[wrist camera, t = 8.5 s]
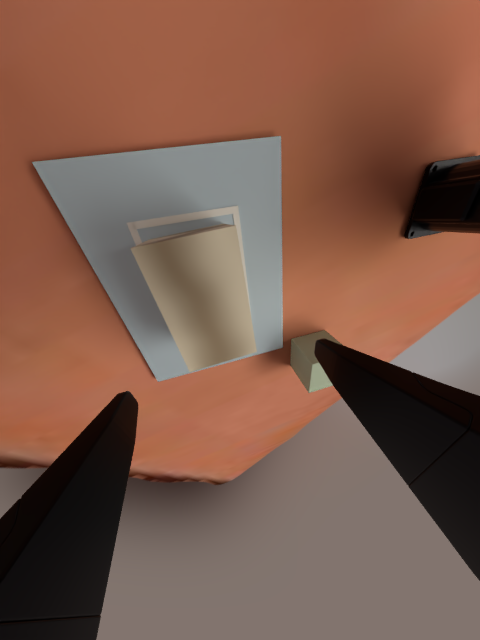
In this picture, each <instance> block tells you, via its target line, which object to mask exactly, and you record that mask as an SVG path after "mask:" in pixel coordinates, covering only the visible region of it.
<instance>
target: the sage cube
mask: <svg viewBox="0 0 480 640" xmlns="http://www.w3.org/2000/svg"><path fill="white" fill-rule="evenodd" d="M323 338H325V339H328V340H330V341H333V342H336V343H338V344H341V343H340V342H338V341H337V340H336V339H335V338H334V337H332V336H331V335H330V334H329V333H328V332H327V331H325V330H323V331H319V332H315V333H312V334H308V335H304V336H300V337H296V338H293V339H291V363H290V365H291V367H292V368H293V370H294V371H295V373H296V374H297V376H298V377H299V379H300V380H301V382H302V383H303V385H304V386H305V388H306V389H307V391H308V392H309V393H310V392H314V391H317V390H320V389H323V388H326V387H330V386H333V384H332V383H331V382H330V380H329V378H328V377H327V375H326V373H325V372H324V370H323V368H322V367H321V365H320V363H319V362H318V360H317V358H316V357H315V354H314V350H315V342H316V340H319V339H323ZM341 345H342V344H341Z"/></svg>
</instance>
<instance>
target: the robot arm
mask: <svg viewBox="0 0 480 640" xmlns="http://www.w3.org/2000/svg"><path fill="white" fill-rule="evenodd" d="M441 232H461V233H480V155H479V156H472V157H465V158H458V159H451V160H444V161H437V162H433V163H430V164H429V165H428V166H427V168H426V170H425V173H424V176H423V180H422V183H421V186H420V189H419V192H418V195H417V198H416V201H415V204H414V207H413V210H412V213H411V216H410V220H409V223H408V226H407V229H406V232H405V235H404V237H405V238H407V239H412V238H417V237H421V236H426V235H431V234H436V233H441ZM314 354H315V357H316V358H317V360H318V362H319V363H320V365H321V367H322V368H323V370H324V372H325V373H326V375H327V377H328V378H329V380H330V382H331V383H332V384H333V386H334V387H335V389H336V390H337V391H338V393H339V394H340V395H341V397H342V398H343V399H344V401H345V402H346V403H347V405H348V406H349V407H350V409H351V410H352V411H353V413H354V414H355V415H356V417H357V418H358V419H359V421H360V422H361V423H362V425H363V426H364V427H365V429H366V430H367V431H368V433H369V434H370V435H371V437H372V438H373V439H374V441H375V442H376V443H377V445H378V446H379V447H380V449H381V450H382V451H383V453H384V454H385V455H386V457H387V458H388V459H389V461H390V462H391V463H392V465H393V466H394V467H395V469H396V470H397V471H398V473H399V474H400V476H401V477H402V478H403V480H404V481H405V482H406V483H407V485H408V486H409V488H410V489H411V490H412V492H413V493H414V494H415V496H416V497H417V498H418V500H419V501H420V502H421V504H422V505H423V506H424V508H425V509H426V511H427V512H428V513H429V514H430V516H431V517H432V519H433V520H434V521H435V522H436V524H437V525H438V526H439V528H440V529H441V531H442V532H443V533H444V535H445V536H446V537H447V538H448V540H449V541H450V543H451V544H452V545H453V547H454V548H455V549H456V551H457V552H458V553H459V555H460V556H461V557H462V559H463V560H464V561H465V563H466V564H467V565H468V567H469V568H470V569H471V570H472V572H473V573H474V574H475V576H476V577H477V578H478V579H479V580H480V396H478V395H475V394H472V393H469V392H466V391H463V390H460V389H457V388H454V387H452V386H449V385H446V384H443V383H440V382H437V381H435V380H432V379H429V378H427V377H424V376H421V375H419V374H416V373H412V372H411V371H408V370H406V369H403V368H401V367H398V366H395V365H393V364H390V363H388V362H385V361H382V360H380V359H377V358H375V357H372V356H369V355H367V354H364V353H362V352H359V351H356V350H354V349H351V348H349V347H346V346H343V345H341V344H338V343H336V342H333V341H330V340H328V339H325V338H323V339H319V340H316V342H315V350H314ZM137 416H138V402H137V401H136V399H135V398H134V397H133V395H132V394H131V392H129V391H126V392H122V393H119V394H117V395H116V396H115V397H114V398H113V400H112V401H111V402H110V403H109V404H108V405H107V406H106V407H105V408H104V409H103V410H102V411H101V412H100V413H99V414H98V415H97V417H96V418H95V419H94V420H93V421H92V422H91V423H90V424H89V425H88V426H87V427H86V428H85V429H84V430H83V431H82V432H81V434H80V435H79V436H78V437H77V438H76V439H75V440H74V441H73V442H72V443H71V444H70V445H69V446H68V447H67V448H66V450H65V451H64V452H63V453H62V454H61V455H60V456H59V457H58V458H57V459H56V460H55V461H54V462H53V463H52V464H51V465H50V467H49V468H48V469H47V470H46V471H45V472H44V473H43V474H42V475H41V476H40V477H39V478H38V479H37V480H36V481H35V483H34V484H33V485H32V486H31V487H30V488H29V489H28V490H27V491H26V492H25V493H24V494H23V495H22V497H21V499H19V500H18V501H17V502H16V503H15V504H14V505H13V506H12V507H11V508H10V509H9V510H8V511H7V512H6V513H5V514H4V515H3V516H2V517H1V519H0V640H96V638H97V633H98V628H99V623H100V617H101V616H100V614H101V612H102V607H103V602H104V597H105V592H106V587H107V582H108V577H109V572H110V566H111V561H112V556H113V551H114V546H115V541H116V535H117V531H118V526H119V521H120V516H121V511H122V506H123V501H124V496H125V491H126V486H127V481H128V476H129V471H130V466H131V461H132V456H133V451H134V445H135V438H136V427H137Z"/></svg>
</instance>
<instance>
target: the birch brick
mask: <svg viewBox="0 0 480 640" xmlns="http://www.w3.org/2000/svg"><path fill="white" fill-rule="evenodd" d="M130 249H131V251H132V253H133V255H134V257H135V259H136V261H137V263H138V265H139V268H140V270H141V272H142V274H143V276H144V278H145V280H146V282H147V284H148V286H149V288H150V290H151V293H152V295H153V297H154V299H155V301H156V303H157V305H158V307H159V309H160V311H161V313H162V315H163V317H164V320H165V322H166V324H167V326H168V328H169V330H170V332H171V334H172V336H173V338H174V340H175V342H176V345H177V347H178V349H179V351H180V353H181V355H182V357H183V359H184V361H185V363H186V365H187V367H188V370H189V372H192V371H195V370H199V369H202V368H205V367H209V366H212V365H215V364H219V363H222V362H225V361H228V360H232V359H235V358H238V357H242V356H245V355H248V354H251V353H255V352H257V349H256V343H255V337H254V331H253V325H252V319H251V313H250V307H249V301H248V295H247V289H246V283H245V277H244V271H243V265H242V259H241V253H240V247H239V241H238V235H237V229H236V225H230V224H219V225H214V226H209V227H205V228H200V229H195V230H191V231H186V232H181V233H177V234H172V235H167V236H163V237H158V238H154V239H149V240H147V241H145V242H143V243H141V244H139V245H136V246H134V247H132V248H130Z"/></svg>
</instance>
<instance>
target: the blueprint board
mask: <svg viewBox="0 0 480 640" xmlns="http://www.w3.org/2000/svg"><path fill="white" fill-rule="evenodd" d="M32 163H33V165H34V167H35V169H36V170H37V172H38V174H39V176H40V177H41V179H42V181H43V182H44V184H45V186H46V188H47V189H48V191H49V193H50V195H51V196H52V198H53V200H54V202H55V203H56V205H57V207H58V209H59V210H60V212H61V214H62V216H63V217H64V219H65V221H66V222H67V224H68V226H69V228H70V229H71V231H72V233H73V235H74V236H75V238H76V240H77V242H78V243H79V245H80V247H81V249H82V250H83V252H84V254H85V256H86V257H87V259H88V261H89V262H90V264H91V266H92V268H93V269H94V271H95V273H96V275H97V276H98V278H99V280H100V282H101V283H102V285H103V287H104V289H105V290H106V292H107V294H108V295H109V297H110V299H111V301H112V302H113V304H114V306H115V308H116V309H117V311H118V313H119V315H120V316H121V318H122V320H123V322H124V323H125V325H126V327H127V329H128V330H129V332H130V334H131V335H132V337H133V339H134V341H135V342H136V344H137V346H138V348H139V349H140V351H141V353H142V355H143V356H144V358H145V360H146V362H147V363H148V365H149V367H150V369H151V370H152V372H153V374H154V375H155V377H156V379H157V381H158V382H159V381H163V380H166V379H170V378H174V377H177V376H181V375H185V374H188V373H192V372H196V371H199V370H203V369H207V368H210V367H214V366H218V365H221V364H225V363H229V362H232V361H236V360H240V359H243V358H247V357H251V356H254V355H258V354H261V353H265V352H269V351H272V350H276V349H280V348H283V309H282V194H281V136H276V137H266V138H257V139H247V140H237V141H228V142H218V143H209V144H199V145H190V146H180V147H171V148H161V149H151V150H142V151H132V152H123V153H113V154H104V155H94V156H85V157H75V158H66V159H56V160H46V161H37V162H32ZM219 224H230V225H236V229H237V235H238V241H239V247H240V253H241V259H242V265H243V271H244V277H245V283H246V289H247V295H248V301H249V307H250V313H251V319H252V325H253V331H254V337H255V343H256V349H257V352H255V353H251V354H248V355H245V356H242V357H238V358H235V359H232V360H228V361H225V362H222V363H219V364H215V365H212V366H209V367H205V368H202V369H199V370H195V371H192V372H189V370H188V367H187V365H186V363H185V361H184V359H183V357H182V355H181V353H180V351H179V349H178V347H177V345H176V342H175V340H174V338H173V336H172V334H171V332H170V330H169V328H168V326H167V324H166V322H165V320H164V317H163V315H162V313H161V311H160V309H159V307H158V305H157V303H156V301H155V299H154V297H153V295H152V293H151V290H150V288H149V286H148V284H147V282H146V280H145V278H144V276H143V274H142V272H141V270H140V268H139V265H138V263H137V261H136V259H135V257H134V255H133V253H132V251H131V249H130V248H132V247H134V246H136V245H139V244H141V243H143V242H145V241H147V240H149V239H154V238H158V237H163V236H167V235H172V234H177V233H181V232H186V231H191V230H195V229H200V228H205V227H209V226H214V225H219Z"/></svg>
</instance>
